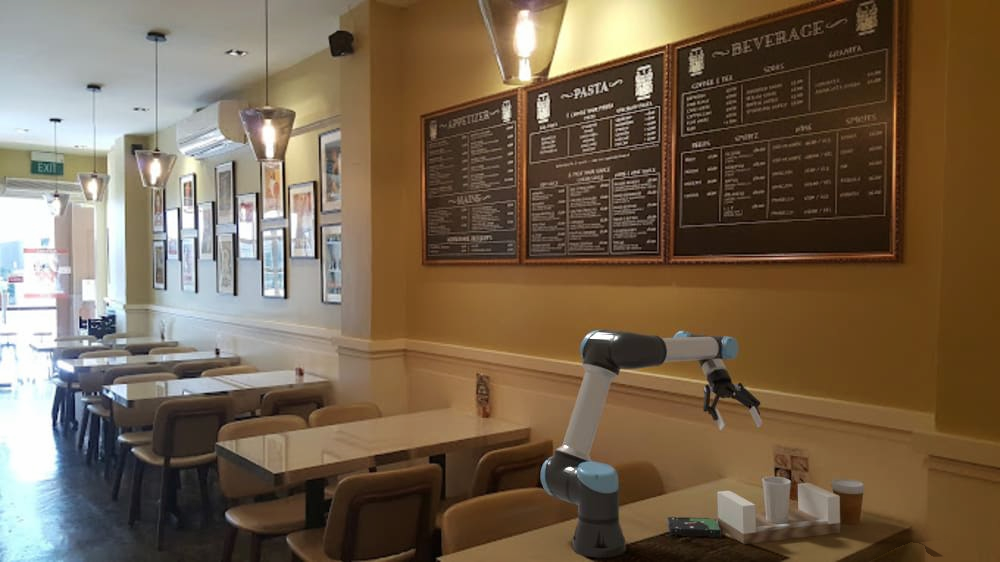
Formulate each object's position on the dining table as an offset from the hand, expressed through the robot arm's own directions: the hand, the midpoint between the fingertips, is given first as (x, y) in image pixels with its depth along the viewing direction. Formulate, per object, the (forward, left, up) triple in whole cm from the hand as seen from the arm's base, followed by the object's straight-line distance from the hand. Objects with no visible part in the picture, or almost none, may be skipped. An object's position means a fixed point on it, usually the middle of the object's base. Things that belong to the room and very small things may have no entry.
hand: (741, 426), depth 229 cm
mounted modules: (+16, -9, -25) cm, 31 cm away
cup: (+16, -9, -25) cm, 31 cm away
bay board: (+16, -9, -28) cm, 33 cm away
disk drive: (-2, -26, -28) cm, 39 cm away
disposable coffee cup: (+28, +13, -28) cm, 42 cm away
